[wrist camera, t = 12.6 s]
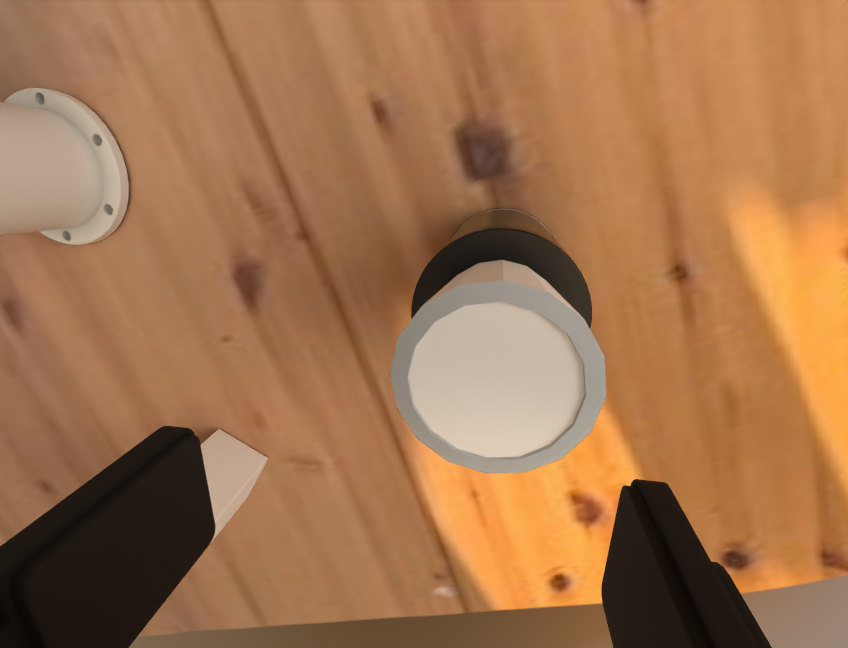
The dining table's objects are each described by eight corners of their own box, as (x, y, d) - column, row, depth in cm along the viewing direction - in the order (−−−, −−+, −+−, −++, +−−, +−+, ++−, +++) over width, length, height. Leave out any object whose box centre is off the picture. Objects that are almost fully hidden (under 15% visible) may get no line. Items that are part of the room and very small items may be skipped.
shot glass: (428, 241, 19) (389, 273, 13) (584, 250, 18) (628, 289, 12) (423, 377, 22) (388, 462, 15) (563, 391, 21) (589, 490, 14)
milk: (219, 427, 43) (-37, 647, 23) (270, 457, 44) (60, 704, 23) (201, 467, 46) (-48, 701, 25) (250, 496, 46) (41, 753, 25)
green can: (425, 274, 34) (377, 332, 21) (491, 183, 31) (481, 187, 18) (509, 335, 35) (512, 429, 22) (581, 252, 32) (635, 303, 19)
